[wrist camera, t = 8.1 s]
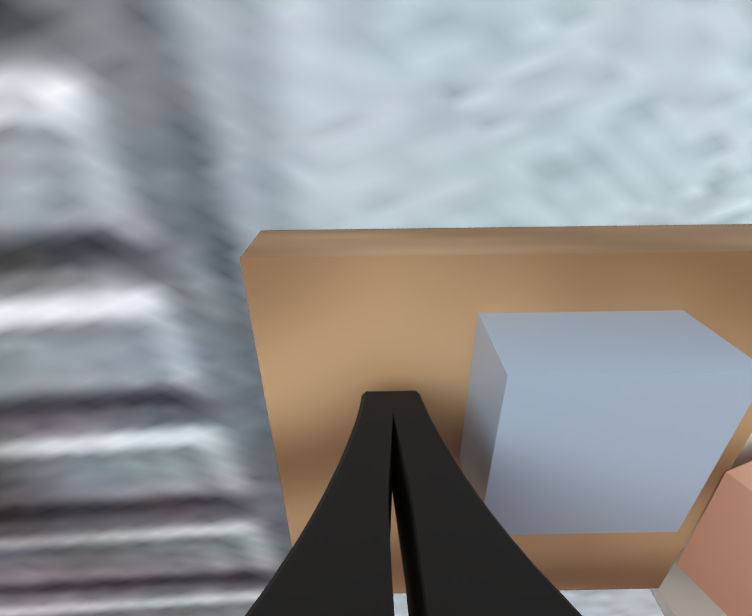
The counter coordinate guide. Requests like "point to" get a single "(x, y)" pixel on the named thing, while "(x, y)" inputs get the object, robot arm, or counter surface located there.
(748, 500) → the terracotta tile
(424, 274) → the oak board
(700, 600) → the tray
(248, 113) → the counter surface
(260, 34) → the counter surface
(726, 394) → the slate tile
